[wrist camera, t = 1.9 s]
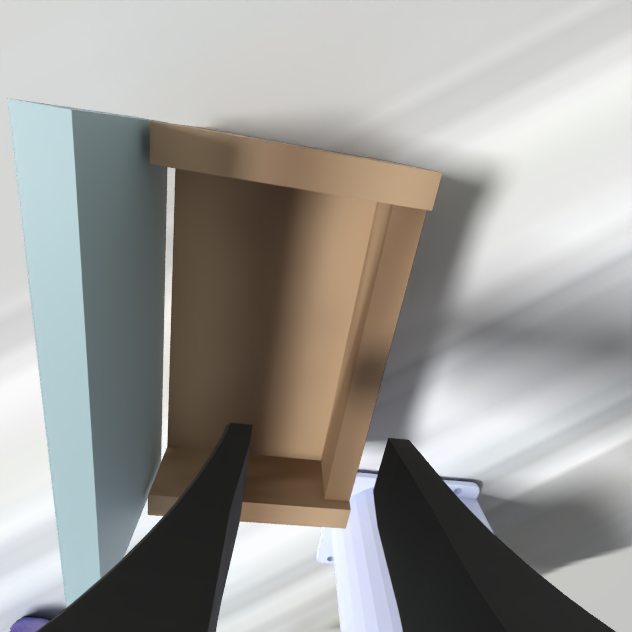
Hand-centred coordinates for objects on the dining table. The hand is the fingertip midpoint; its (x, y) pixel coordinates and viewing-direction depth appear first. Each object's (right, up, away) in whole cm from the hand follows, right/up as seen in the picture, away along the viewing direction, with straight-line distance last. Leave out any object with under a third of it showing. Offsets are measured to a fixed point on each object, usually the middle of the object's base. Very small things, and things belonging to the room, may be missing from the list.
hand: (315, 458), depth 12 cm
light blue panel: (-7, +4, +6) cm, 10 cm away
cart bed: (-2, +4, +9) cm, 11 cm away
